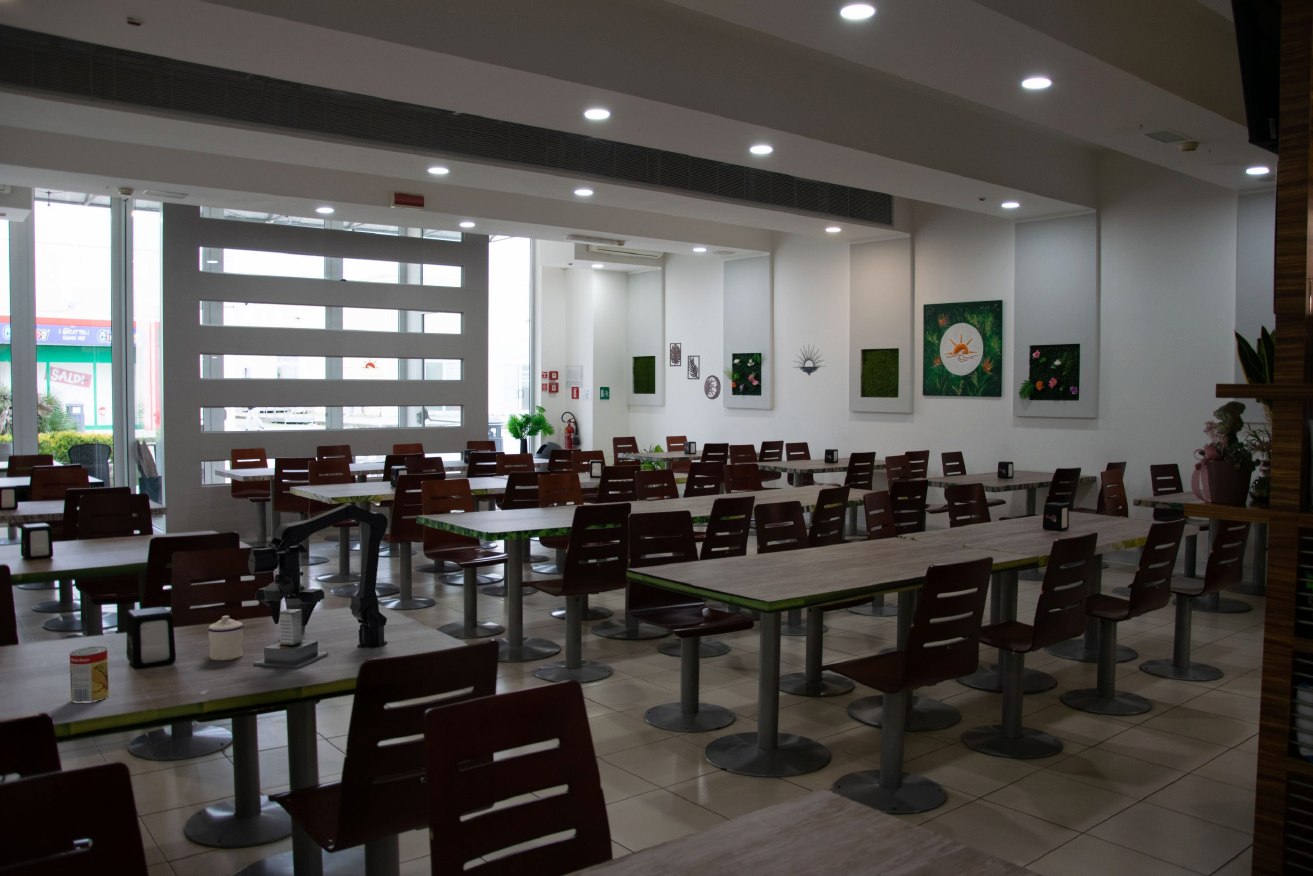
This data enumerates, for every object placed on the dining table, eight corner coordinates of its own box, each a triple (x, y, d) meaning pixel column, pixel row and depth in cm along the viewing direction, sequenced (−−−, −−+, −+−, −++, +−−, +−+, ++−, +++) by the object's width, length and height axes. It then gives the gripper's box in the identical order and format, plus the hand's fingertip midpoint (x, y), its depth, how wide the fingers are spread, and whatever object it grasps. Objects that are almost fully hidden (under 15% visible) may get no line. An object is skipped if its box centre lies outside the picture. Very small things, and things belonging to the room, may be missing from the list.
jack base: (328, 655, 268) (327, 639, 268) (297, 668, 254) (296, 651, 254) (286, 652, 272) (286, 636, 272) (253, 665, 258) (253, 648, 258)
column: (302, 641, 264) (301, 609, 264) (292, 645, 260) (291, 613, 260) (289, 640, 266) (288, 608, 265) (279, 644, 261) (278, 612, 261)
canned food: (114, 693, 234) (112, 645, 234) (100, 703, 226) (99, 654, 226) (80, 695, 233) (78, 647, 233) (65, 705, 225) (63, 655, 225)
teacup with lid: (250, 655, 269) (249, 614, 269) (222, 662, 261) (221, 621, 261) (224, 649, 275) (223, 610, 275) (195, 657, 267) (194, 616, 267)
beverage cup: (300, 635, 291) (299, 571, 290) (279, 634, 292) (278, 571, 292) (314, 630, 298) (312, 567, 297) (293, 629, 299) (291, 567, 299)
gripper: (241, 573, 257) (242, 629, 258) (299, 576, 252) (301, 633, 252) (268, 566, 268) (269, 620, 268) (325, 569, 263) (326, 624, 263)
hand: (290, 624), depth 263 cm, fingers open, 9 cm apart
